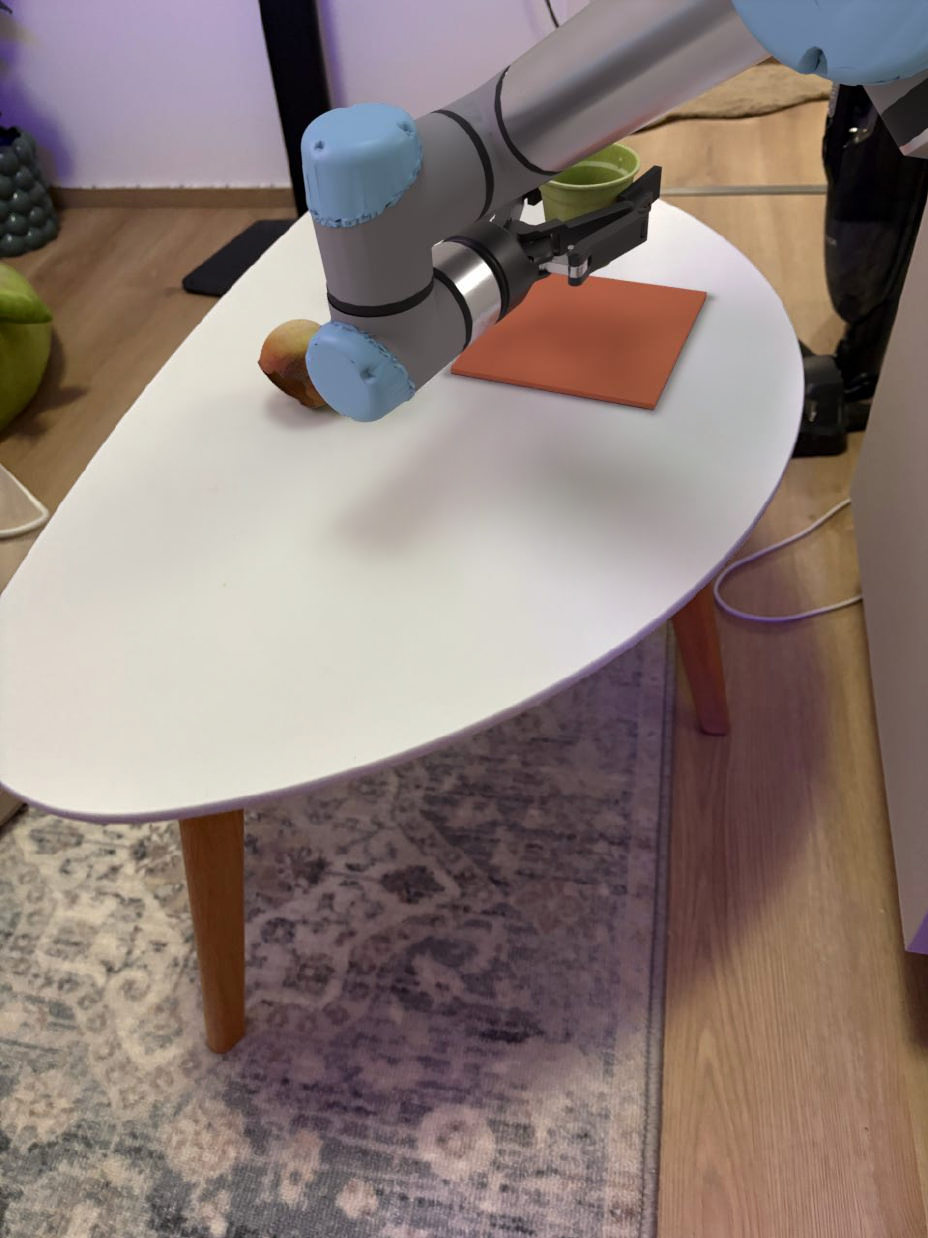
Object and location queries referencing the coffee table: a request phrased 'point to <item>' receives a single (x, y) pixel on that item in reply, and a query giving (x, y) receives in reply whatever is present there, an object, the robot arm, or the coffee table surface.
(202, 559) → the coffee table surface
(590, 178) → the plant pot
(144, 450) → the coffee table surface
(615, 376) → the terracotta mat
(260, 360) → the fruit
